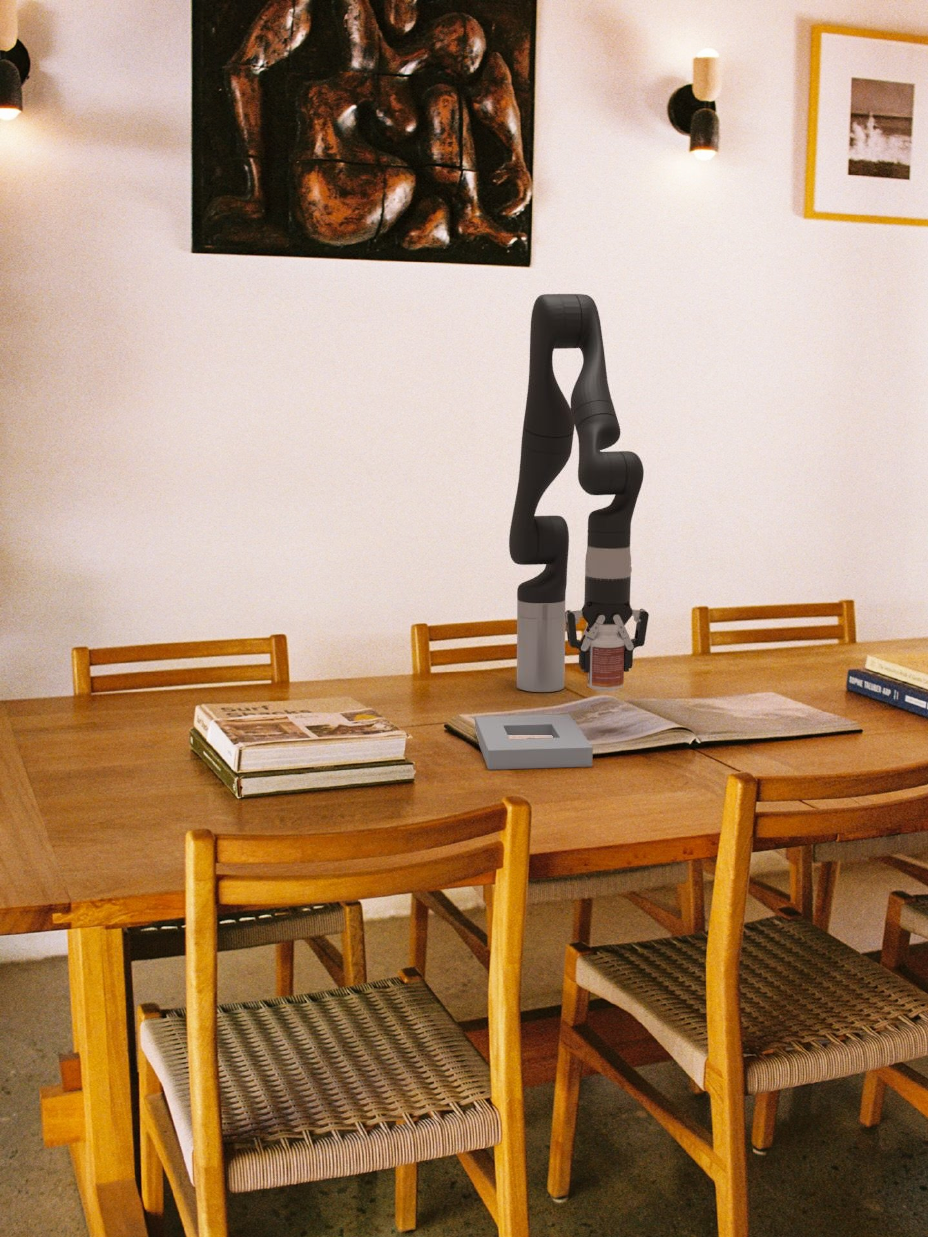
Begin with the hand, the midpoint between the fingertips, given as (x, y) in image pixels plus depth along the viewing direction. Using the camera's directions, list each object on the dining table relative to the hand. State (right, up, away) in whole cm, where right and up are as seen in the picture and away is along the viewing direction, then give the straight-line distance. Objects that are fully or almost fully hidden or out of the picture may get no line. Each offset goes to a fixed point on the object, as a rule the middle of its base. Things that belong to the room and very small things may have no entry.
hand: (605, 670), depth 210 cm
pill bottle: (0, -3, +1) cm, 3 cm away
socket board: (-13, -12, -10) cm, 20 cm away
